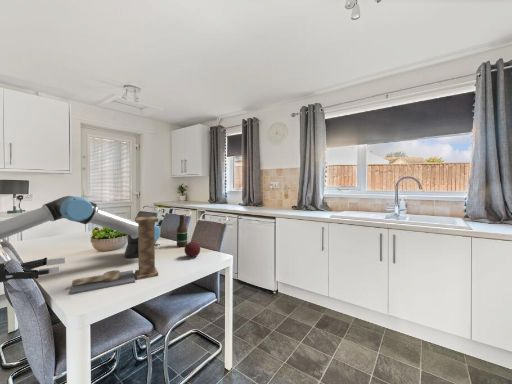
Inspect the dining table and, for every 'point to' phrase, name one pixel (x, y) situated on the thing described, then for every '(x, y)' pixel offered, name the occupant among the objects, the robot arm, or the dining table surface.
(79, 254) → the dining table surface
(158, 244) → the wine glass
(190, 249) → the decorative ball
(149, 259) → the stand
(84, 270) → the dining table surface
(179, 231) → the beer bottle
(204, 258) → the dining table surface
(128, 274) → the mat
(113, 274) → the spoon
